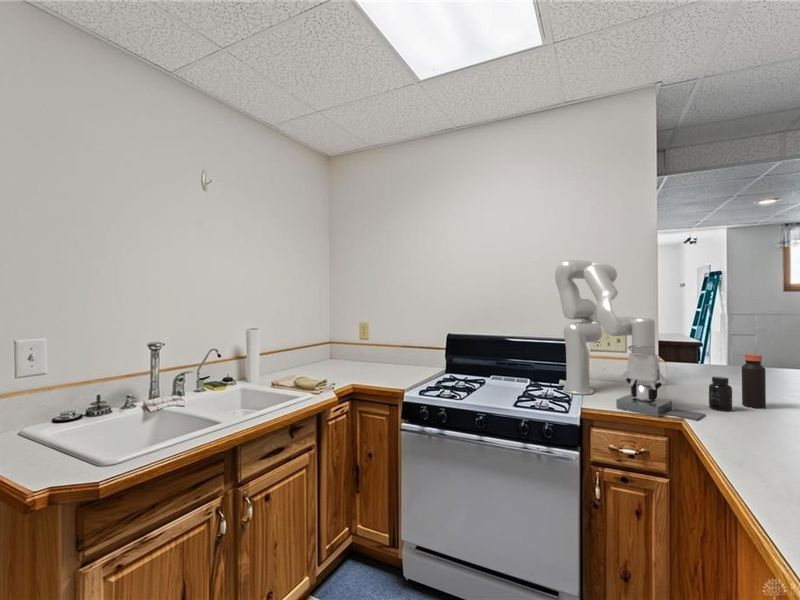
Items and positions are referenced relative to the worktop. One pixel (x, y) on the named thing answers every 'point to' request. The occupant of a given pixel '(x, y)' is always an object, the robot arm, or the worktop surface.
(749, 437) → the worktop surface
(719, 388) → the supplement bottle
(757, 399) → the vinegar
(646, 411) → the block
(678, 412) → the mat
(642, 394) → the shiny grey cylinder
